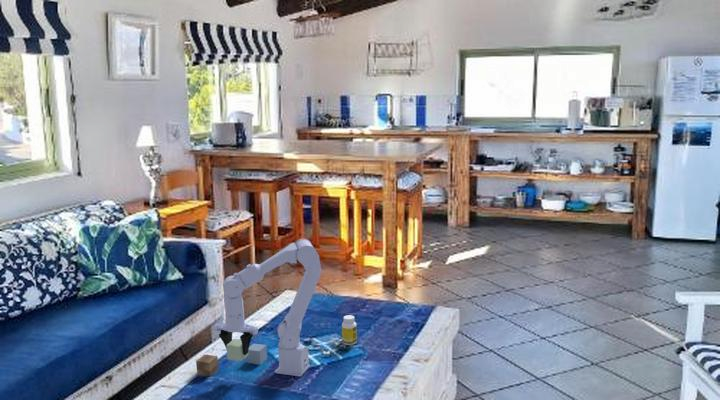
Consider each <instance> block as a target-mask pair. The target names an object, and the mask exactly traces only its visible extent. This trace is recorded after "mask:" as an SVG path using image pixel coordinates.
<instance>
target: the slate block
mask: <svg viewBox="0 0 720 400" xmlns="http://www.w3.org/2000/svg"><path fill="white" fill-rule="evenodd" d="M267 359H268V351H267V344H261V343H260V344H259V343H252V344H251V345H249V355H248V356H247V357H246V363H247V364H251V363H252V365H253V364H254V365H260V366H261V365H262V364H263V363H264V362H265V361H266V360H267Z"/></svg>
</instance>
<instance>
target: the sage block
mask: <svg viewBox="0 0 720 400" xmlns="http://www.w3.org/2000/svg"><path fill="white" fill-rule="evenodd" d="M226 355H227V356H226V358H227V360H228V361H235V362H243V361H244V360H245V359H247V356H248V355H249V350H248V353H247V354H246V355H244V354H243V346H242V342H241V339H240V338H232V341H231V342H230V343H228V344H227V349H226Z"/></svg>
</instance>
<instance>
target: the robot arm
mask: <svg viewBox="0 0 720 400" xmlns="http://www.w3.org/2000/svg"><path fill="white" fill-rule="evenodd" d="M297 261H298V262H299V263H300V264H301V265H302V266H303V268H304V270H305V272H304V274H303V276H302V278H301V281H300V284H299V286H298V289H297V291H296V294H295V297H294V298H293V302H292V304H291V306H290V308H289V311H288V313H287V314H285V316H284V319H283V320H282V321H281V322H280V323H279V324H278V325H277V334H278V338H279V341H278V342H277V343H278V344H277V348H278V349H277V350H278V363H279V364H278V365H279V366H278V368H277V369H275V370H274V373H275V374H280V375H286V376H287V375H288V376H295V377H302V376H303V374H305V372H306V371H308V369H309V368H310V366H311V365H310V360H309V347H307V345H304V344H302V343H301V342H300V341H301V336H300V334H301V331H302V324H303V319H304V317H305V314H306V312H307V309H308V307H309V304H310V302H311V299H312V297H313V295H314V293H315V290H316V287H317V285H318V283H319V280H320V277H321V275H322V272H323V270H322V266H321V261H320V255H319V253H318V252H317V250H316V249H315V247H314V245H313V243H312V242H311V241H310V240H309V239H307V238H299V239H298V240H296V241H295V242H292V243H289V244H288V245H287V246H286V247H284V248H282V249H281V250H280V251H279V252H278V251H277V252H276V253H275V254H274V255H272V256H271V257H269V258H268V259H266V260H264V261H263V262H261V263H260V264H259V263H253V264H251V263H248V264H247V265H246V267H245V268H244V269H242V270H240V271H239V272H235V273H233V275H229V276H227V277H226V278H225V279H224V281H223V284H222V287H223V292H224V309H225V319H226V320H225V321H226V322H225V323H216V324H214V332H219V331H220V332H219V334H218V337H219V339H221V341H222V343H223V344H224V346H225V349H226V350H227V344H228V343H230V342H231V341H232V340H233V333H239V334H241V333H242V334H241V335H240V336H239V339H241V342H242V346H243V354H244V355H246V354H247V353H248V350H249V347H250V346H251V345H250V344H251V342H252V338H253V336H256V335H258V333H259V327H258V326H254V325H250V324H248V323H247V324H246V321H245V309H244V307H245V306H244V298H243V295H242V294H243V292H244V291H245V290H246V289H249V288H251V287H252V286H254V285H255V284H257V283H258V282H260V281H262V280H263V279H264V277H265V274H266V273H269V272H271V271H273V270H274V269H276V268H278V267H280V266H282V265H284V264H285V263H292V264H297V263H298V262H297Z"/></svg>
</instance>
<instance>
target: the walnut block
mask: <svg viewBox="0 0 720 400" xmlns="http://www.w3.org/2000/svg"><path fill="white" fill-rule="evenodd" d="M195 362H196V363H195V364H196V373H197V376H203V377H209V376H210V377H209V378H211V377H212V376H213V375H214V374H216V373H217V372H218V371H219V370H218V369H219V359H218V355H211V354H203V355H201V356H200V358H198V359H197V360H196V361H195ZM217 370H218V371H217ZM216 371H217V372H216ZM211 375H212V376H211Z"/></svg>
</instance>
